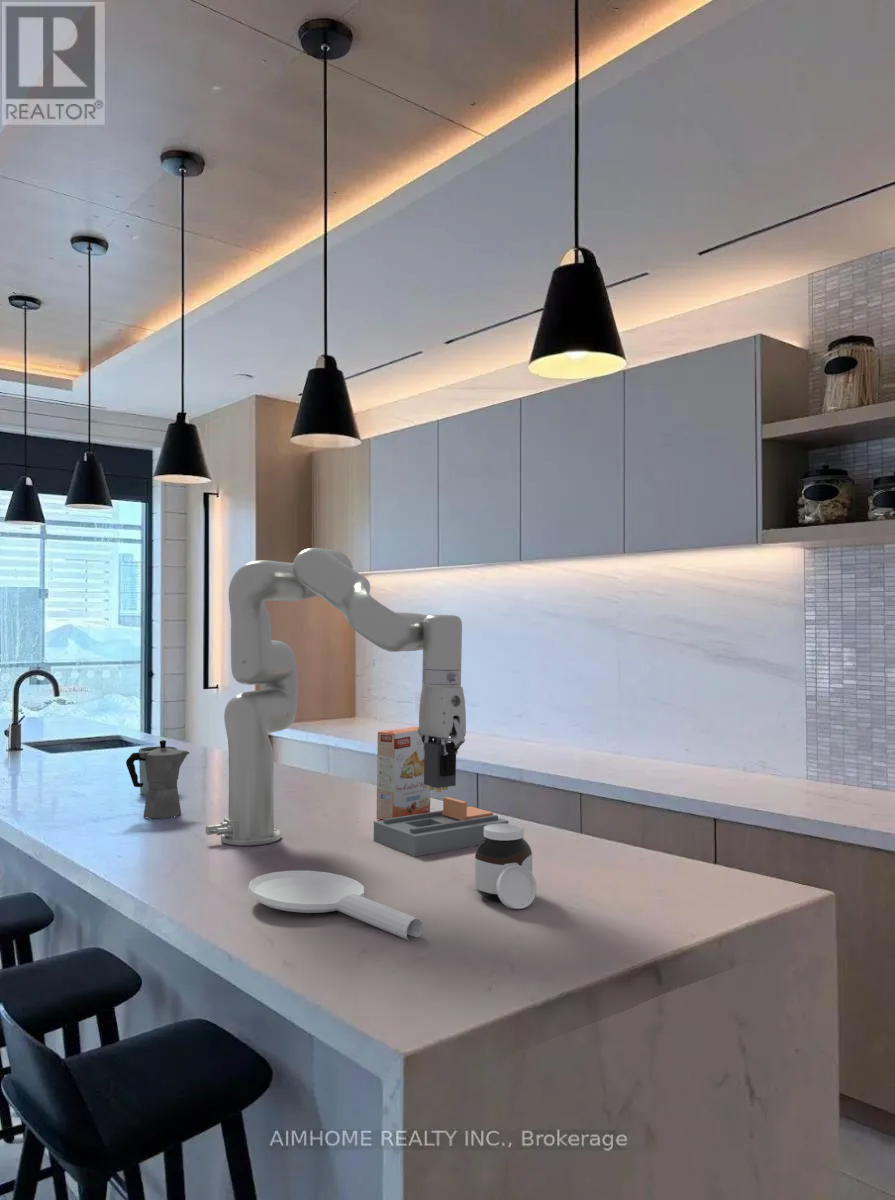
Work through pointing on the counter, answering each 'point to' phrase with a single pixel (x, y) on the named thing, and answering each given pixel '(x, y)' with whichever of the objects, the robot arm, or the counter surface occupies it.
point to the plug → (436, 767)
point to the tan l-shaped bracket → (461, 810)
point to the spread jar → (505, 866)
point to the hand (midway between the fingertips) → (439, 772)
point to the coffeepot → (159, 780)
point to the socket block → (431, 832)
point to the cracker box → (401, 774)
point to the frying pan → (329, 899)
